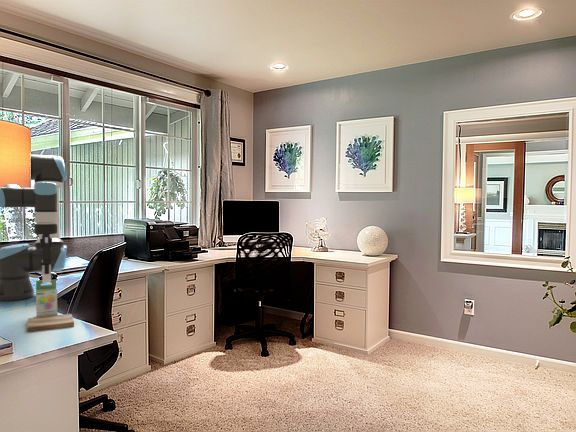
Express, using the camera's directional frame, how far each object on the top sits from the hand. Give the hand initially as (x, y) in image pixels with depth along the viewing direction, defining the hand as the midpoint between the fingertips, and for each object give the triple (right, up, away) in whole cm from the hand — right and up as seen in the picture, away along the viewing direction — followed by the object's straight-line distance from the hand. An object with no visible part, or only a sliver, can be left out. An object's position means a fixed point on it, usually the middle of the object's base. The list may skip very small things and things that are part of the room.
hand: (46, 279), depth 163 cm
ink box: (0, -14, +1) cm, 14 cm away
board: (+7, -14, -10) cm, 19 cm away
